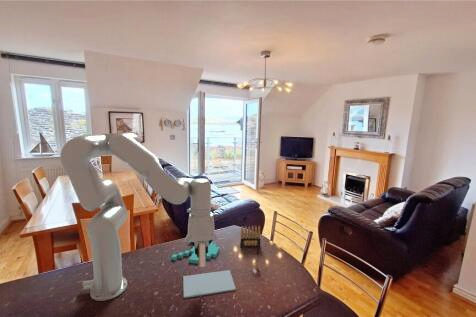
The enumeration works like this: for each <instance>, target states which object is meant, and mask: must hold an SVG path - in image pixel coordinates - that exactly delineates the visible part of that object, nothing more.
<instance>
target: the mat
mask: <svg viewBox="0 0 476 317" xmlns="http://www.w3.org/2000/svg"><path fill="white" fill-rule="evenodd" d="M182 278H183V280H182V281H183V284H182V285H183V299H188V298H194V297H200V296H205V295H206V296H207V295H213V294H219V293H226V292H234V291H236V290H237V288H236V285H235V282H234V279H233V276H232V273H231V269H227V270H221V271H212V272H205V273H198V274H191V275H184V276H182Z"/></svg>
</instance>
